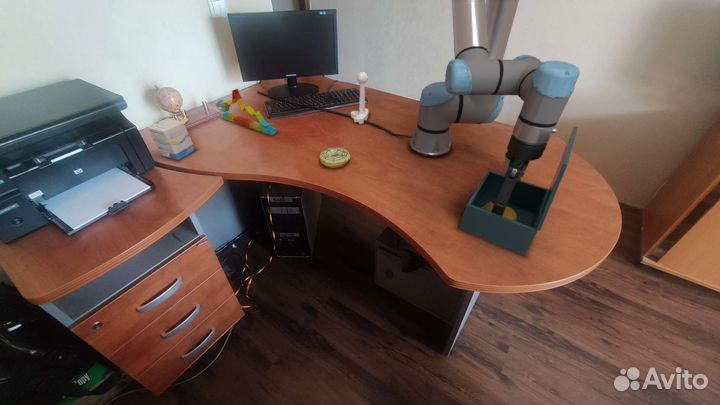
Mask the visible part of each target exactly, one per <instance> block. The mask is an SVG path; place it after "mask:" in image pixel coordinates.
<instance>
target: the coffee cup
mask: <svg viewBox="0 0 720 405" xmlns="http://www.w3.org/2000/svg"><path fill="white" fill-rule="evenodd" d="M504 156H505V158H504V161H503V166H502V171H501V174H503V175H505V174H506V172H507V169H508V167H509V166H508V165H509V162H510V160H511V159H512V155H511V154H510V153H509V152H508V150H507V151H505V154H504Z"/></svg>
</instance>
